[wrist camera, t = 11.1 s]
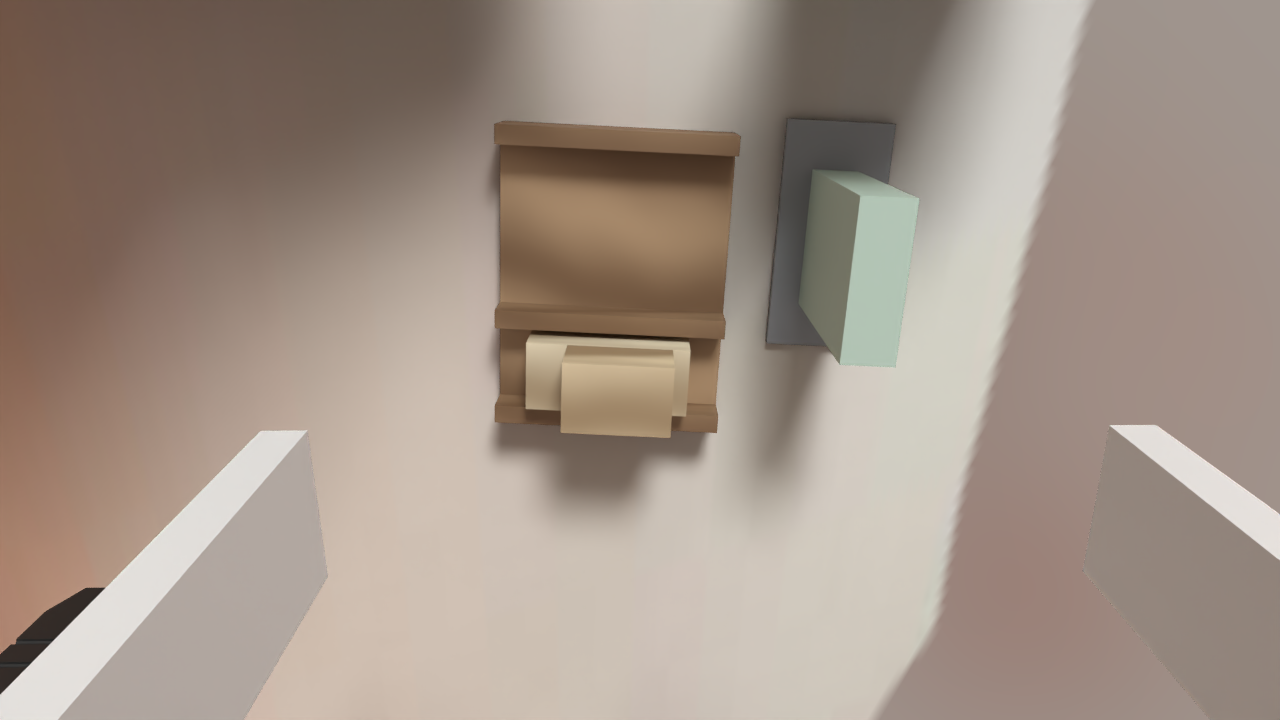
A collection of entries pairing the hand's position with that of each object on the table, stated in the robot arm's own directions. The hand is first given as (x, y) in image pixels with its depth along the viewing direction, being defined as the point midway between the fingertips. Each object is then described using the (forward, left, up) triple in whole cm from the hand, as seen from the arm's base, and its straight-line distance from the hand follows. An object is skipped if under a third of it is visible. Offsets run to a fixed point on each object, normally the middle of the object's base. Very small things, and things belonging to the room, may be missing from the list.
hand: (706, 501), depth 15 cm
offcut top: (+6, -2, -23) cm, 24 cm away
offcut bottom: (+6, -2, -25) cm, 26 cm away
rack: (+2, -2, -26) cm, 27 cm away
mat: (0, +7, -26) cm, 27 cm away
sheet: (0, +7, -26) cm, 27 cm away
